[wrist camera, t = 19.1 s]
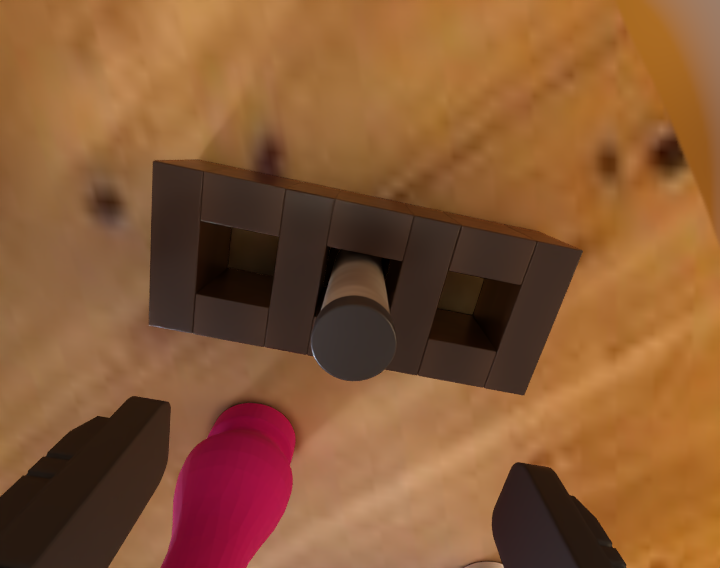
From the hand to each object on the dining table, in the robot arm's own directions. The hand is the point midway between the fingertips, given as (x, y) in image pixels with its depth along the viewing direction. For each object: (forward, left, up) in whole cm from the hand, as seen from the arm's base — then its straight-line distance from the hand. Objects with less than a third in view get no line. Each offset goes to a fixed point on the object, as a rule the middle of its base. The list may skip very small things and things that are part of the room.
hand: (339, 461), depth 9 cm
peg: (0, 0, -17) cm, 17 cm away
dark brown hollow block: (0, 0, -17) cm, 17 cm away
